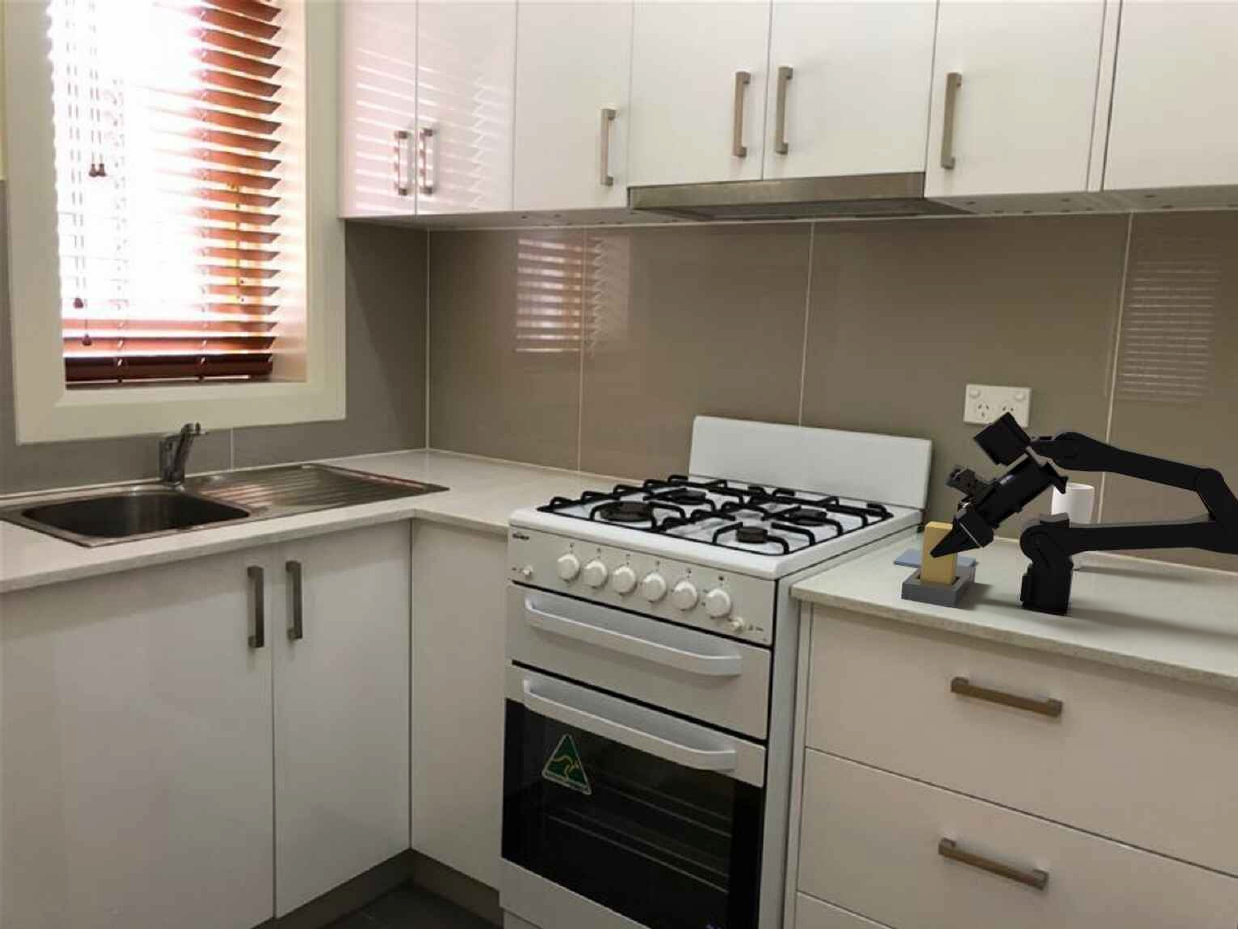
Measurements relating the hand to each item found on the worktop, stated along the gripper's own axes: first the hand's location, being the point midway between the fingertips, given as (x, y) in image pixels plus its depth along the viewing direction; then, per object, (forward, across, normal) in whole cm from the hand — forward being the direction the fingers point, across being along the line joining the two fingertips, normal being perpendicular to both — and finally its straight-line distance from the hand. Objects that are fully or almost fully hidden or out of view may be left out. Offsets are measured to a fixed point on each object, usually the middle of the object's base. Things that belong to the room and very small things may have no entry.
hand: (934, 549), depth 158 cm
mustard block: (+4, 0, +6) cm, 7 cm away
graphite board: (+4, -2, +6) cm, 7 cm away
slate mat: (+6, -21, +4) cm, 23 cm away
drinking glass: (-10, -32, +20) cm, 39 cm away
